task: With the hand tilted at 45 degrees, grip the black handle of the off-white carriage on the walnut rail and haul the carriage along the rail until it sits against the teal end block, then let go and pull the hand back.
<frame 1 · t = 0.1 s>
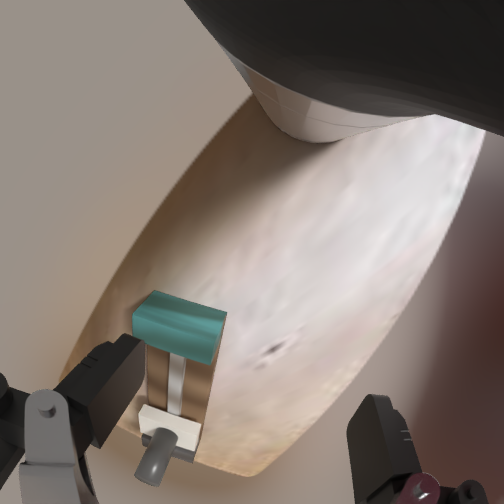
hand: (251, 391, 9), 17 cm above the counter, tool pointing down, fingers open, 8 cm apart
rail: (180, 383, 33), on the counter
carriage: (159, 450, 28), point 8 cm above the counter, slide at 6.0 cm
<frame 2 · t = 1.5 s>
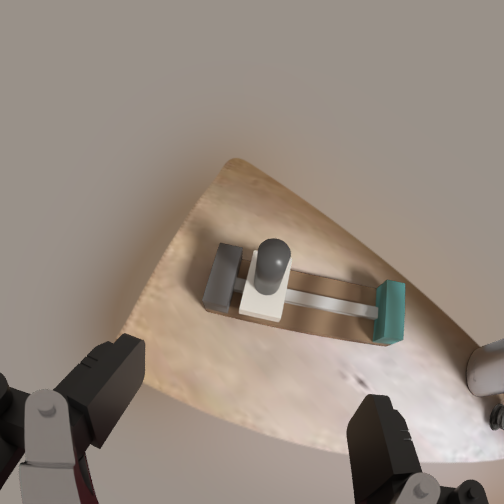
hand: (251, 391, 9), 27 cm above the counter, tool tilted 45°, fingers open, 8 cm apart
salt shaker: (496, 417, 29), on the counter
rail: (305, 304, 39), on the counter
carriage: (269, 273, 32), point 8 cm above the counter, slide at 6.0 cm
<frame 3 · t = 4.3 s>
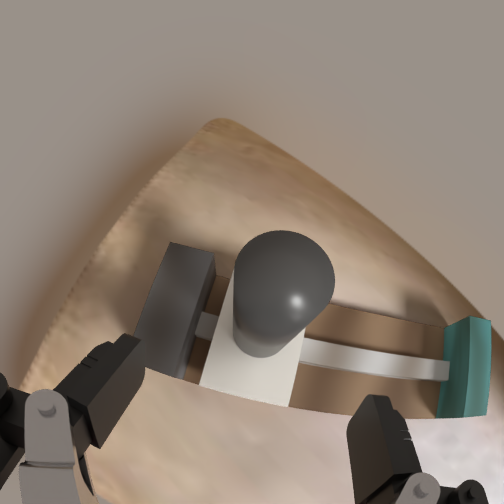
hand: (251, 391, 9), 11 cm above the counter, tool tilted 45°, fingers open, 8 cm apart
rail: (331, 361, 20), on the counter
carriage: (267, 316, 13), point 8 cm above the counter, slide at 6.0 cm
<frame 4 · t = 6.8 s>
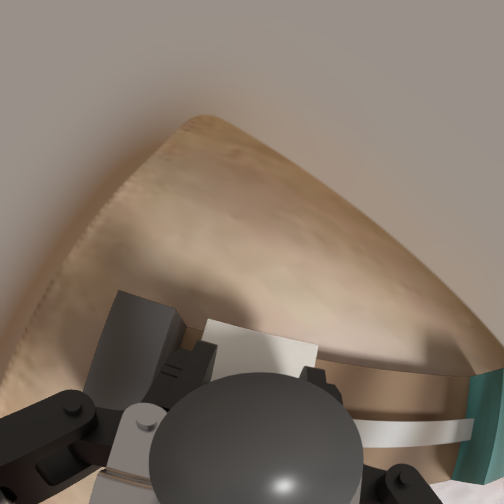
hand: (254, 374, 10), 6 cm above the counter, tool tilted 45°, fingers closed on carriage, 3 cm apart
rail: (334, 428, 14), on the counter
carriage: (244, 430, 7), point 8 cm above the counter, slide at 6.0 cm, touching gripper
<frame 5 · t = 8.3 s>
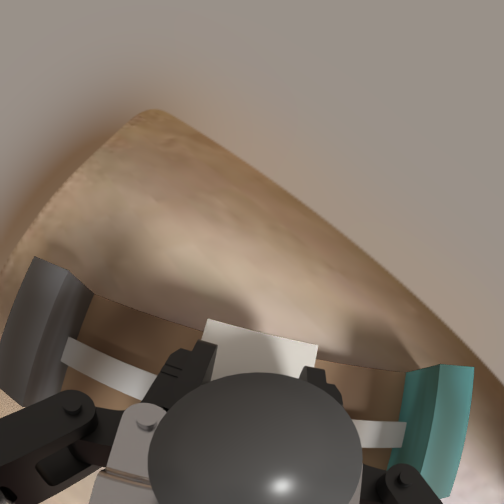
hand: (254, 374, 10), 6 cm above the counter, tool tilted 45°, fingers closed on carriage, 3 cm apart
rail: (231, 410, 15), on the counter
carriage: (243, 430, 7), point 8 cm above the counter, slide at -0.4 cm, touching gripper
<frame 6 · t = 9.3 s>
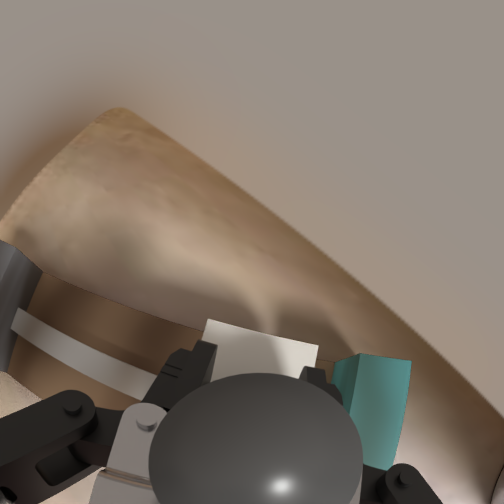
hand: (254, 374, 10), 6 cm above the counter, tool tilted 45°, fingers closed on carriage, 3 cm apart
rail: (150, 385, 15), on the counter
carriage: (244, 430, 7), point 8 cm above the counter, slide at -5.4 cm, touching gripper
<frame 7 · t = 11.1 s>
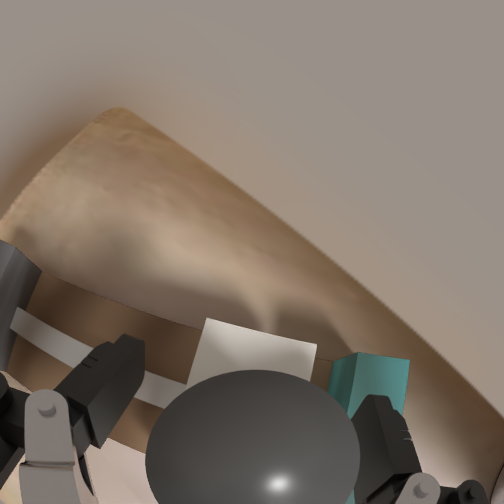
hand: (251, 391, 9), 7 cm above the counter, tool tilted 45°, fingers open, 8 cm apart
rail: (148, 384, 15), on the counter
carriage: (242, 429, 8), point 8 cm above the counter, slide at -5.5 cm
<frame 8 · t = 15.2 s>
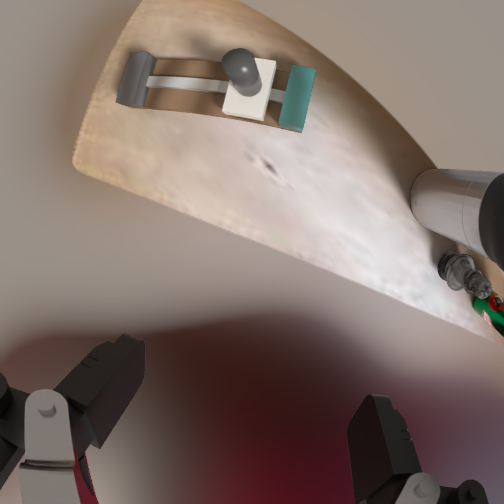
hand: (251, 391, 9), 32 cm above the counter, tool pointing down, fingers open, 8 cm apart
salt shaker: (449, 265, 38), on the counter
rail: (216, 89, 35), on the counter
carriage: (245, 77, 27), point 8 cm above the counter, slide at -5.5 cm
soda can: (481, 298, 38), on the counter
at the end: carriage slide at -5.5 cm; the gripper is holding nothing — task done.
